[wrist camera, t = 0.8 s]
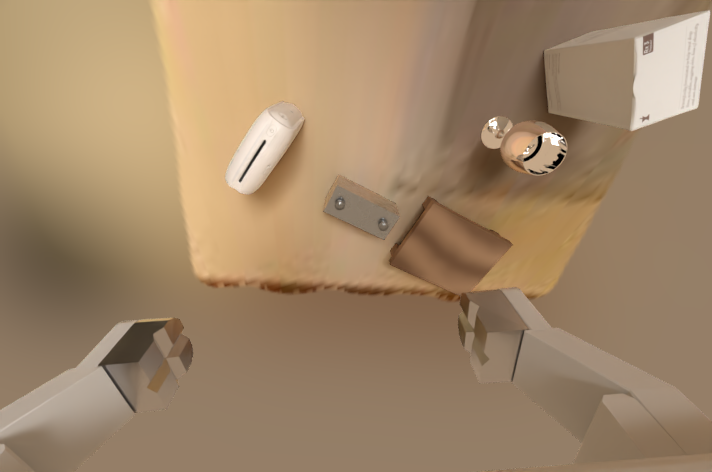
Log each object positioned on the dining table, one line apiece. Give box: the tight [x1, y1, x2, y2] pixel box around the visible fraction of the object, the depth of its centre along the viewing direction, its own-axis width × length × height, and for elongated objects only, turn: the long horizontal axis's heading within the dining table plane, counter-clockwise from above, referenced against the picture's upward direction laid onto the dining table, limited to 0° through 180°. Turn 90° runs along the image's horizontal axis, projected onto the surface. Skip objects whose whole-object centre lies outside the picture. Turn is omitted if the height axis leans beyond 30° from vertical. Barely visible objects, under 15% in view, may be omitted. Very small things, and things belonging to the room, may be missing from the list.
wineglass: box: [481, 116, 567, 175], centre depth 38 cm, size 6×6×12 cm
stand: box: [389, 196, 513, 296], centre depth 50 cm, size 12×15×4 cm
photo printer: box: [225, 101, 305, 194], centre depth 37 cm, size 10×4×12 cm, turn 142°
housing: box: [323, 174, 400, 240], centre depth 45 cm, size 4×10×6 cm, turn 62°
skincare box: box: [544, 10, 710, 131], centre depth 33 cm, size 8×6×15 cm
